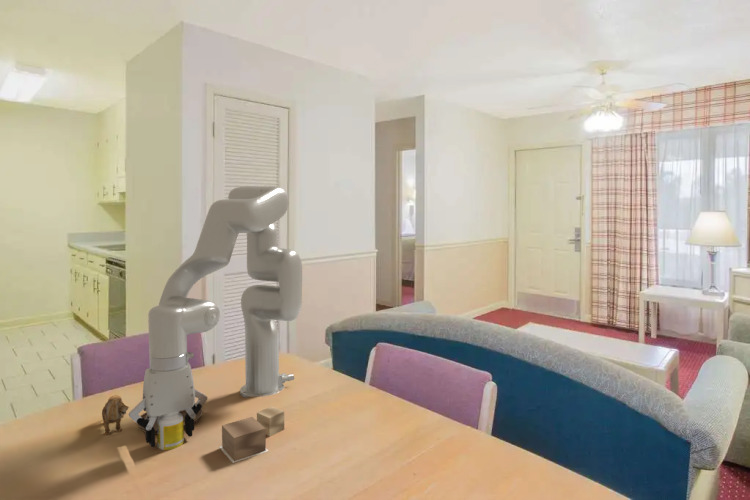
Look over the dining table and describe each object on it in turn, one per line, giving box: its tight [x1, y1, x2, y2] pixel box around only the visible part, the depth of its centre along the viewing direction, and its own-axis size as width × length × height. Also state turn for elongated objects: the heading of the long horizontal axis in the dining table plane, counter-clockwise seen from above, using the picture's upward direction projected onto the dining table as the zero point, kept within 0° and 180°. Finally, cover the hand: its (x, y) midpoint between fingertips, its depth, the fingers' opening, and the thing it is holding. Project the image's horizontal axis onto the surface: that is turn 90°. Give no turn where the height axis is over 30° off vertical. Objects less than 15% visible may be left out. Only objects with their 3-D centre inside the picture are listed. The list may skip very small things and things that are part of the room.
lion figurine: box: [101, 394, 130, 436], centre depth 112 cm, size 15×5×9 cm, turn 34°
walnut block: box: [221, 416, 267, 461], centre depth 100 cm, size 7×7×5 cm
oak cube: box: [256, 405, 285, 437], centre depth 109 cm, size 4×4×4 cm
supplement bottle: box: [156, 412, 185, 451], centre depth 102 cm, size 5×5×10 cm
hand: (170, 438), depth 102 cm, fingers open, 7 cm apart
